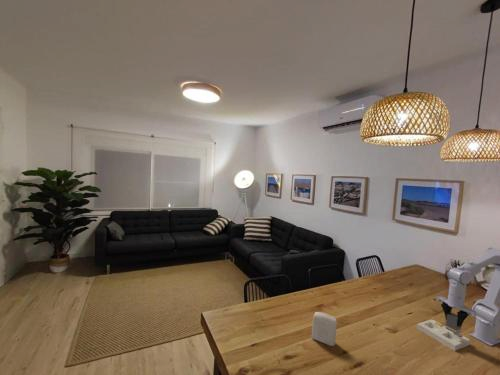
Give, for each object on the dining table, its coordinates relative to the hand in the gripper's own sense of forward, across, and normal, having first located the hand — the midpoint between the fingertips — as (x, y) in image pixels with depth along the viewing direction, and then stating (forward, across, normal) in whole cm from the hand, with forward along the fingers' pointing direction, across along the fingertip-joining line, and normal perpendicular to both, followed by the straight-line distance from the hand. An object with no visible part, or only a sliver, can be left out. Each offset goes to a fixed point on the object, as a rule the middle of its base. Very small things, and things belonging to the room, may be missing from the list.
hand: (453, 322), depth 109 cm
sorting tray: (+9, -4, 0) cm, 10 cm away
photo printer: (+10, -20, -58) cm, 63 cm away
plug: (+3, 0, 0) cm, 4 cm away
